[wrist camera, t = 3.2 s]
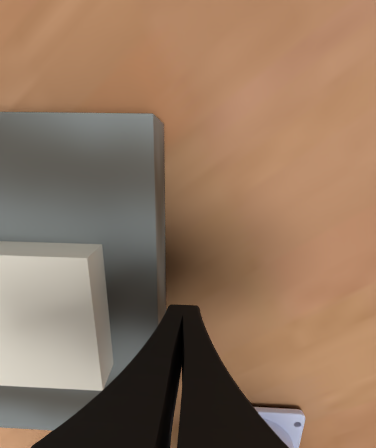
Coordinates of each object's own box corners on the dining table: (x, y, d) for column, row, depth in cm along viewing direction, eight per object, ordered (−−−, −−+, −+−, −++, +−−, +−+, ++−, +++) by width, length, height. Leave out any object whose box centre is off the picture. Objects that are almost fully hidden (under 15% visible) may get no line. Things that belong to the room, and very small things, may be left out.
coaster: (113, 364, 13) (102, 390, 11) (-11, 357, 13) (-38, 383, 11) (102, 244, 11) (87, 258, 9) (-46, 239, 11) (-83, 252, 9)
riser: (167, 388, 17) (160, 436, 14) (8, 380, 17) (-30, 425, 14) (164, 123, 12) (152, 113, 9) (-62, 121, 12) (-142, 110, 9)
